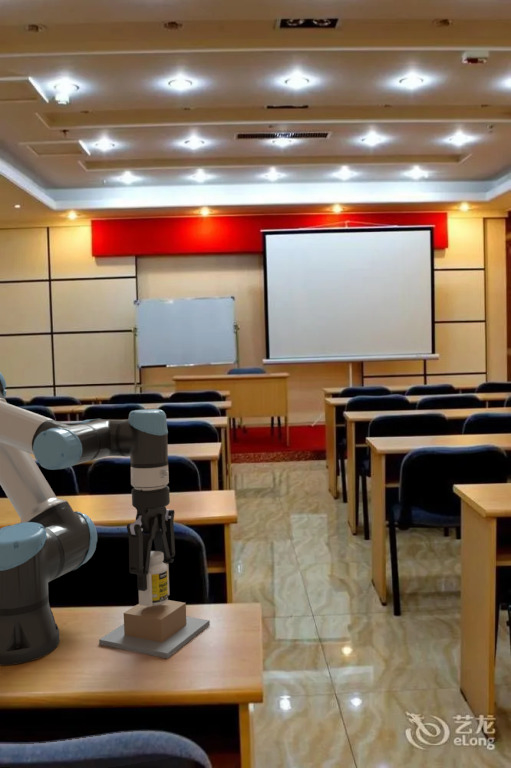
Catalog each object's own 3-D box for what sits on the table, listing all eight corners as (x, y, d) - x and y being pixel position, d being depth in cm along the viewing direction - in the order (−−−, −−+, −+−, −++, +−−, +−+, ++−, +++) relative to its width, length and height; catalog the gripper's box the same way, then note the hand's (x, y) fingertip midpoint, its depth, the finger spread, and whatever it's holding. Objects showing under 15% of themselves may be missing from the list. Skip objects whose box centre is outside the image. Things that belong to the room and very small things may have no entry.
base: (99, 644, 126) (98, 617, 126) (146, 613, 140) (145, 589, 140) (167, 658, 119) (166, 629, 119) (209, 624, 133) (208, 599, 133)
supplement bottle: (162, 607, 126) (161, 558, 126) (137, 605, 127) (135, 557, 127) (172, 596, 131) (170, 550, 131) (147, 595, 133) (145, 549, 132)
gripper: (138, 497, 118) (143, 619, 119) (190, 478, 135) (193, 586, 136) (106, 494, 122) (111, 613, 123) (160, 476, 138) (164, 582, 139)
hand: (154, 599), depth 129 cm, fingers closed on supplement bottle, 5 cm apart
